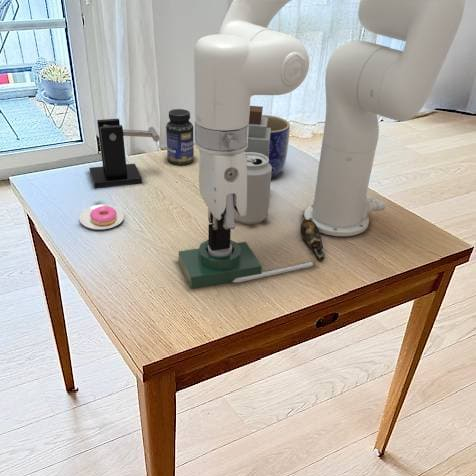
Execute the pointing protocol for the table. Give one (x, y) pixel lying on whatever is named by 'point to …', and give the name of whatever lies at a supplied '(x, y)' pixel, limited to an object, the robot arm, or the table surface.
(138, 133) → the flush lever
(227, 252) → the flush button
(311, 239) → the bird model
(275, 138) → the planter
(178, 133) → the pill bottle
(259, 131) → the perfume bottle
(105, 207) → the donut
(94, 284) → the table surface
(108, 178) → the lever bracket
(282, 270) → the pencil
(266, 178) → the can
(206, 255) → the button block
